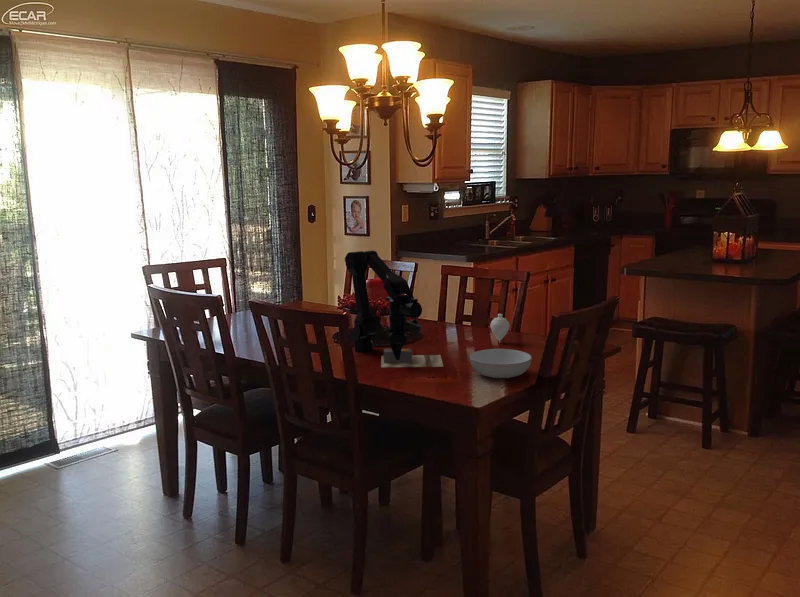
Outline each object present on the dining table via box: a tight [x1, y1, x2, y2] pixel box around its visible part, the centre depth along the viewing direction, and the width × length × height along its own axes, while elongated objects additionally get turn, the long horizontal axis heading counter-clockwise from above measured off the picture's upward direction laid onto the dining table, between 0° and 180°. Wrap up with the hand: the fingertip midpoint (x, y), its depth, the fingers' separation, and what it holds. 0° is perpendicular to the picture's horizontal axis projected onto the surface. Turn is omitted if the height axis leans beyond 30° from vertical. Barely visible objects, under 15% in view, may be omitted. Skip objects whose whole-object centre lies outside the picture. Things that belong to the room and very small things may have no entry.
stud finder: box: [383, 348, 413, 363], centre depth 262 cm, size 10×5×4 cm, turn 91°
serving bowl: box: [469, 348, 533, 379], centre depth 249 cm, size 21×21×7 cm
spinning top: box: [490, 313, 511, 344], centre depth 294 cm, size 8×8×12 cm
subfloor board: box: [380, 354, 445, 368], centre depth 262 cm, size 22×16×2 cm
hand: (397, 356), depth 262 cm, fingers open, 9 cm apart
